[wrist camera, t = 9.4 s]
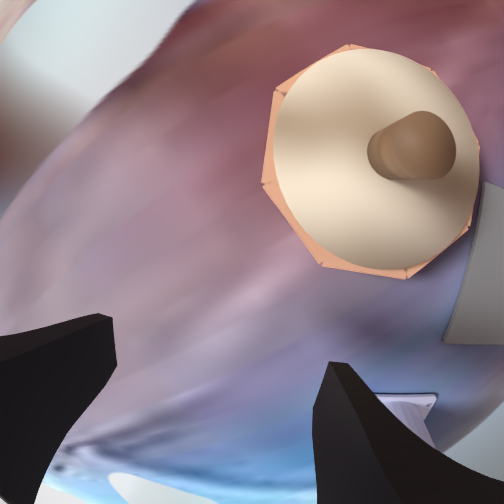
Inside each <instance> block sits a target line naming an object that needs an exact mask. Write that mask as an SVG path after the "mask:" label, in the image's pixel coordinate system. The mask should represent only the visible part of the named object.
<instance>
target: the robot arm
mask: <svg viewBox="0 0 504 504" xmlns="http://www.w3.org/2000/svg"><path fill="white" fill-rule="evenodd" d="M116 366H117V360H116V351H115V342H114V331H113V319H112V317H109V316H106V315H102V314H99V313H97V314H91V315H87V316H83V317H79V318H75V319H72V320H68V321H65V322H61V323H58V324H54V325H51V326H47V327H43V328H39V329H35V330H31V331H27V332H22V333H18V334H12V335H6V336H0V498H1V499H3V500H4V501H5V502H6V503H7V504H34V502H35V499H36V496H37V493H38V490H39V487H40V485H41V482H42V480H43V478H44V475H45V473H46V471H47V469H48V467H49V465H50V463H51V461H52V459H53V457H54V455H55V453H56V451H57V449H58V448H59V446H60V444H61V443H62V441H63V439H64V437H65V436H66V434H67V433H68V431H69V430H70V429H71V427H72V426H73V425H74V423H75V422H76V421H77V420H78V418H79V417H80V416H81V415H82V414H83V412H84V411H85V410H86V409H87V407H88V406H89V405H90V404H91V403H92V401H93V400H94V399H95V398H96V396H97V395H98V394H99V393H100V392H101V390H102V389H103V388H104V386H105V385H106V383H107V382H108V380H109V379H110V377H111V375H112V373H113V372H114V370H115V368H116ZM436 399H437V397H436V395H435V394H412V395H390V394H374V393H373V392H372V391H371V389H370V388H369V387H368V386H367V385H366V384H365V383H364V381H363V380H362V379H361V378H360V377H359V376H358V374H357V373H356V372H355V371H354V370H353V369H352V367H351V366H350V365H349V364H348V363H340V362H330V361H329V363H328V366H327V369H326V372H325V375H324V378H323V381H322V384H321V387H320V390H319V393H318V395H317V398H316V401H315V404H314V406H313V420H312V439H313V450H314V461H315V472H316V483H317V504H504V482H503V481H500V480H496V479H493V478H490V477H488V476H485V475H482V474H480V473H478V472H476V471H473V470H471V469H469V468H467V467H465V466H463V465H461V464H459V463H457V462H456V461H454V460H452V459H451V458H449V457H447V456H446V455H444V454H442V453H441V452H439V451H438V450H436V448H435V445H434V443H433V441H432V439H431V436H430V434H429V432H428V430H427V427H426V425H425V423H424V420H425V418H426V416H427V415H428V413H429V411H430V410H431V408H432V406H433V405H434V403H435V401H436Z"/></svg>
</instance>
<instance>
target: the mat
mask: <svg viewBox="0 0 504 504" xmlns="http://www.w3.org/2000/svg"><path fill="white" fill-rule="evenodd" d="M442 342H443V343H444V344H469V345H504V189H502V188H500V187H497V186H495V185H493V184H490V183H488V182H484V181H482V190H481V198H480V205H479V211H478V217H477V223H476V228H475V233H474V238H473V243H472V247H471V251H470V256H469V260H468V264H467V267H466V271H465V275H464V278H463V282H462V285H461V289H460V292H459V295H458V298H457V301H456V304H455V307H454V310H453V313H452V316H451V319H450V321H449V324H448V327H447V329H446V332H445V335H444V337H443V340H442Z"/></svg>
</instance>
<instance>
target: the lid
mask: <svg viewBox="0 0 504 504" xmlns="http://www.w3.org/2000/svg"><path fill="white" fill-rule="evenodd" d="M273 158H274V165H275V171H276V176H277V179H278V182H279V186H280V189H281V192H282V194H283V196H284V199H285V201H286V203H287V205H288V207H289V208H290V210H291V212H292V214H293V215H294V217H295V218H296V220H297V221H298V222H299V224H300V225H301V226H302V228H303V229H304V230H305V231H306V232H307V233H308V234H309V235H310V236H311V237H312V238H313V239H314V240H315V241H316V242H317V243H318V244H319V245H321V246H322V247H323V248H325V249H326V250H327V251H329V252H330V253H332V254H334V255H335V256H337V257H339V258H340V259H343V260H345V261H347V262H350V263H352V264H355V265H358V266H362V267H365V268H371V269H379V270H394V269H401V268H407V267H410V266H414V265H417V264H420V263H422V262H424V261H426V260H428V259H430V258H432V257H434V256H435V255H437V254H438V253H440V252H441V251H442V250H443V249H445V248H446V247H447V246H448V245H449V244H450V243H451V242H452V241H453V240H454V239H455V237H456V236H457V235H458V234H459V233H460V231H461V230H462V228H463V227H464V225H465V223H466V222H467V220H468V217H469V215H470V213H471V211H472V208H473V205H474V202H475V199H476V195H477V190H478V184H479V155H478V148H477V143H476V140H475V136H474V132H473V130H472V127H471V124H470V122H469V119H468V117H467V115H466V113H465V111H464V110H463V108H462V106H461V105H460V103H459V102H458V100H457V99H456V97H455V96H454V94H453V93H452V92H451V91H450V90H449V88H448V87H447V86H446V85H445V84H444V83H443V82H442V81H441V80H440V79H439V78H438V77H437V76H435V75H434V74H433V73H432V72H430V71H429V70H428V69H426V68H425V67H423V66H421V65H420V64H418V63H416V62H415V61H413V60H411V59H408V58H406V57H404V56H401V55H398V54H395V53H391V52H388V51H382V50H375V49H357V50H349V51H344V52H340V53H337V54H334V55H331V56H329V57H327V58H325V59H322V60H321V61H319V62H317V63H316V64H314V65H313V66H311V67H310V68H309V69H308V70H307V71H305V72H304V73H303V74H302V75H301V76H300V77H299V78H298V79H297V81H296V82H295V83H294V84H293V85H292V87H291V88H290V90H289V91H288V93H287V95H286V96H285V98H284V100H283V103H282V105H281V107H280V110H279V112H278V116H277V120H276V124H275V129H274V138H273Z"/></svg>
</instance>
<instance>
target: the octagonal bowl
mask: <svg viewBox="0 0 504 504" xmlns="http://www.w3.org/2000/svg"><path fill="white" fill-rule="evenodd" d="M357 49H369V48H365V47H361V46H357V45H353V44H350V46H348V45H345V46H343V47H341V48H340V49H338V50H336V51H334V52H332V53H331V54H329V55H327V56H326V57H324V58H322V59H325V58H327V57H329V56H331V55H334V54H337V53H340V52H344V51H349V50H357ZM322 59H320V60H319V61H321V60H322ZM319 61H317V62H319ZM317 62H315V63H314V64H316V63H317ZM314 64H312V65H311V66H313V65H314ZM311 66H309V67H307V68H306V69H304V70H302V71H301V72H299V73H298V74H296V75H295V76H293V77H291V78H290V79H288V80H287V81H285V82H284V83H282V84H281V85H279V86H278V87H276V91H274V94H273V101H272V108H271V116H270V123H269V130H268V137H267V144H266V152H265V159H264V166H263V173H262V180H261V183H266V184H265V185H264V186H262V187H263V188H264V190H265V191H266V192H267V194H268V195H269V196H270V198H271V199H272V200H273V202H274V203H275V204H276V206H277V207H278V208H279V210H280V211H281V212H282V214H283V215H284V217H285V218H286V219H287V221H288V222H289V223H290V225H291V226H292V227H293V229H294V230H295V232H296V233H297V234H298V236H299V237H300V238H301V240H302V241H303V243H304V244H305V245H306V247H307V248H308V250H309V251H310V252H311V254H312V255H313V257H314V258H315V259H316V261H317V262H318V264H320V263H321V265H322V266H323V267H330V268H336V269H342V270H349V271H355V272H361V273H368V274H374V275H380V276H387V277H393V278H399V279H406V277H407V278H410V277H411V276H412V275H414V274H415V273H416V272H418V271H419V270H420V269H422V268H423V267H424V266H425V265H427V264H428V263H429V262H430V261H432V260H433V259H434V258H435V257H437V256H438V255H439V254H440V253H441V252H443V251H444V250H445V249H446V248H447V247H449V246H450V245H451V244H452V243H453V242H454V241H456V240H457V239H458V238H459V237H460V236H461V235H463V234H464V233H465V232H466V231H467V230H468V227H467V226H470V224H471V218H472V212H473V208H472V211H471V213H470V215H469V217H468V220H467V222H466V223H465V225H464V227H463V228H462V230H461V231H460V233H459V234H458V235H457V236H456V237H455V239H454V240H453V241H452V242H451V243H450V244H449V245H448V246H447V247H446V248H445V249H443V250H442V251H441V252H440V253H438V254H437V255H435V256H434V257H432V258H430V259H428V260H426V261H424V262H422V263H420V264H417V265H414V266H410V267H407V268H401V269H394V270H379V269H371V268H365V267H362V266H358V265H355V264H352V263H350V262H347V261H345V260H343V259H340V258H339V257H337V256H335V255H334V254H332V253H330V252H329V251H327V250H326V249H325V248H323V247H322V246H321V245H319V244H318V243H317V242H316V241H315V240H314V239H313V238H312V237H311V236H310V235H309V234H308V233H307V232H306V231H305V230H304V229H303V228H302V226H301V225H300V224H299V222H298V221H297V220H296V218H295V217H294V215H293V214H292V212H291V210H290V208H289V207H288V205H287V203H286V201H285V199H284V196H283V194H282V192H281V189H280V186H279V182H278V179H277V176H276V171H275V165H274V158H273V138H274V129H275V124H276V120H277V116H278V112H279V110H280V107H281V105H282V103H283V100H284V98H285V96H286V95H287V93H288V91H289V90H290V88H291V87H292V85H293V84H294V83H295V82H296V81H297V79H298V78H299V77H300V76H301V75H302V74H303V73H304V72H305V71H307V70H308V69H309V68H310V67H311ZM421 66H423V65H421ZM423 67H425V68H426V69H428V70H429V71H430V72H431V68H428V67H426V66H423ZM432 73H433V74H434V75H435V76H437V75H436V73H435V72H434V71H432ZM437 77H438V76H437ZM438 78H439V77H438ZM474 136H475V134H474ZM475 140H476V143H477V144H478V143H479V142H478V140H477V138H476V136H475ZM477 148H478V155H479V148H480V146H479V145H477ZM473 206H474V205H473Z"/></svg>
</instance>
